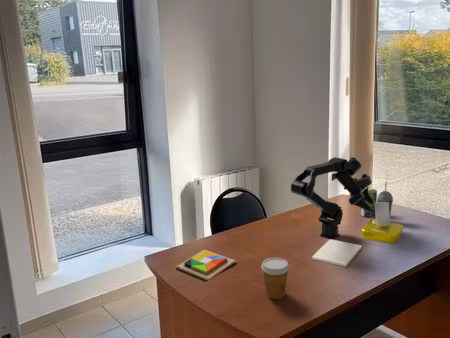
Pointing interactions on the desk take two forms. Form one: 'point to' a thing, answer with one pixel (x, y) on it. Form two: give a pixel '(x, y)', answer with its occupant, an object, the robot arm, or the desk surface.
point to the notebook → (337, 252)
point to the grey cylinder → (382, 213)
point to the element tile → (382, 232)
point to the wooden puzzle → (206, 264)
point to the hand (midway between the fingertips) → (371, 206)
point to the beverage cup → (385, 198)
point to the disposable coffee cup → (275, 277)
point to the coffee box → (374, 197)
